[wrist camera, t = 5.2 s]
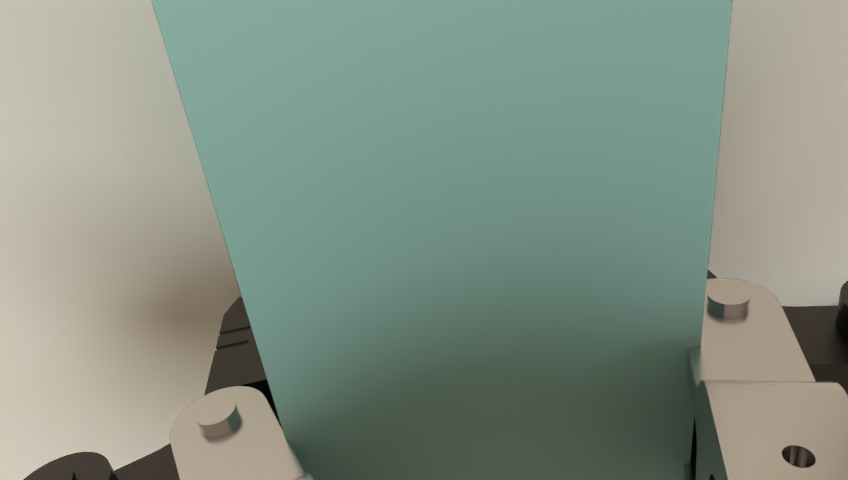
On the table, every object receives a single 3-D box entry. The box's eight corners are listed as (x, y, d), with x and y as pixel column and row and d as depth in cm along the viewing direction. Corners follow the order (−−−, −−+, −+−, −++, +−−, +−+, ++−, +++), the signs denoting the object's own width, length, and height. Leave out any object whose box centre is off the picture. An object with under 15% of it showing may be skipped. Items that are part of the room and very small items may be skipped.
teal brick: (529, -194, 10) (761, -320, 5) (549, 288, 14) (685, 508, 9) (211, -151, 10) (80, -237, 4) (326, 330, 14) (330, 585, 9)
